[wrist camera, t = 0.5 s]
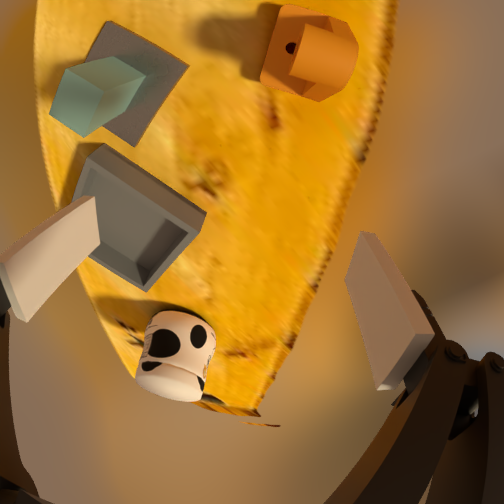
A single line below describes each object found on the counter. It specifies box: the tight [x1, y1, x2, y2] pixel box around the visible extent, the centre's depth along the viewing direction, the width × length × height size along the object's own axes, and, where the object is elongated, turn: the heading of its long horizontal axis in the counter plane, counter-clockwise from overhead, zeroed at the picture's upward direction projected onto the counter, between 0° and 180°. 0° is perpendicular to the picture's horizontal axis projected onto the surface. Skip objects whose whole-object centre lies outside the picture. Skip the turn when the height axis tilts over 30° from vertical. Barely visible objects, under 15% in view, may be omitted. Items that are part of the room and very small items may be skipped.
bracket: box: [260, 4, 359, 102], centre depth 22 cm, size 11×7×12 cm, turn 166°
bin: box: [71, 143, 207, 292], centre depth 43 cm, size 20×20×5 cm
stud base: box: [85, 21, 190, 147], centre depth 27 cm, size 14×14×6 cm
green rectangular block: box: [49, 56, 146, 138], centre depth 25 cm, size 6×6×10 cm
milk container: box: [135, 310, 216, 402], centre depth 60 cm, size 17×17×18 cm
